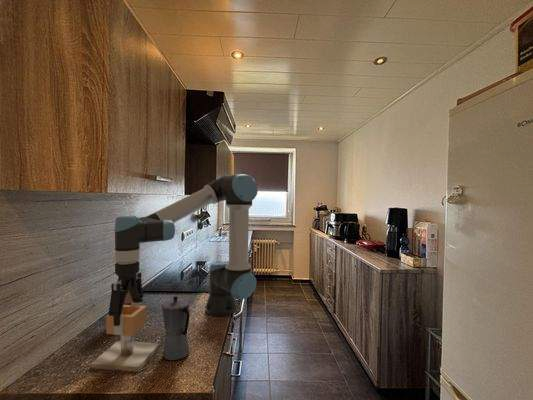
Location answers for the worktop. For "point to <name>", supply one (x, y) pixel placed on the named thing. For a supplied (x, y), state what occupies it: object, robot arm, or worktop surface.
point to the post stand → (126, 355)
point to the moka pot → (176, 329)
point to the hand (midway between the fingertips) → (127, 327)
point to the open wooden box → (129, 319)
